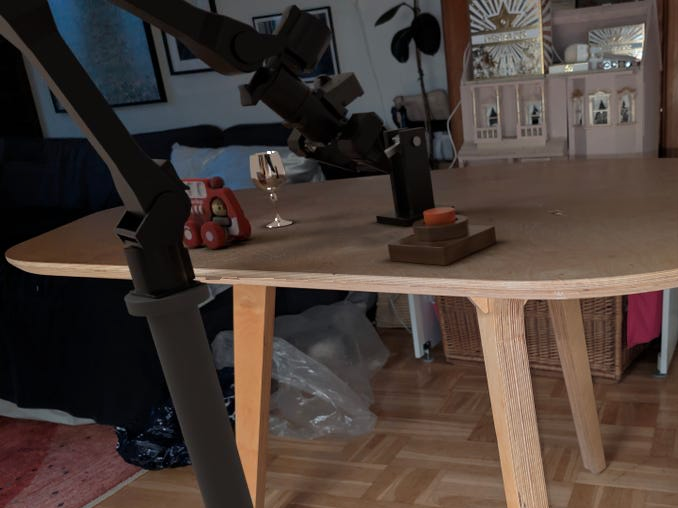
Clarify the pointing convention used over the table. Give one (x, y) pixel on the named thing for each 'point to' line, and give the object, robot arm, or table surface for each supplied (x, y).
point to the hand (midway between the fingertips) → (373, 170)
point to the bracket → (409, 178)
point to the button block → (441, 242)
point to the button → (439, 216)
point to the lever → (389, 153)
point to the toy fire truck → (213, 214)
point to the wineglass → (269, 178)
